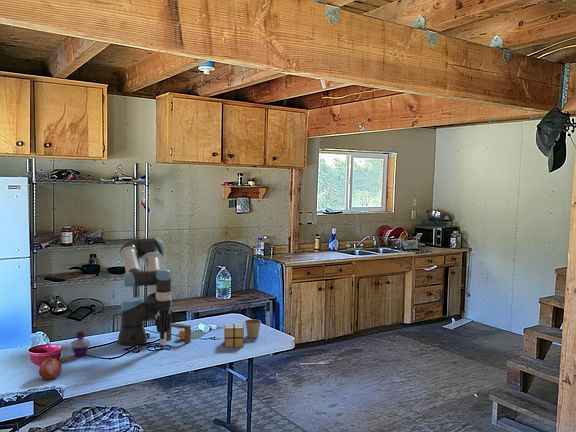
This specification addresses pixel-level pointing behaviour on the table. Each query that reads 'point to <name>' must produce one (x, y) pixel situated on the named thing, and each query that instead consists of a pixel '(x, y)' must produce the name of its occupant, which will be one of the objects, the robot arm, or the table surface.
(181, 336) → the ball
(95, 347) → the table surface
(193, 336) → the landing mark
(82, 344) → the potion bottle
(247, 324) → the flower pot
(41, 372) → the fruit
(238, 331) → the puzzle cube
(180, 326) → the bridge
